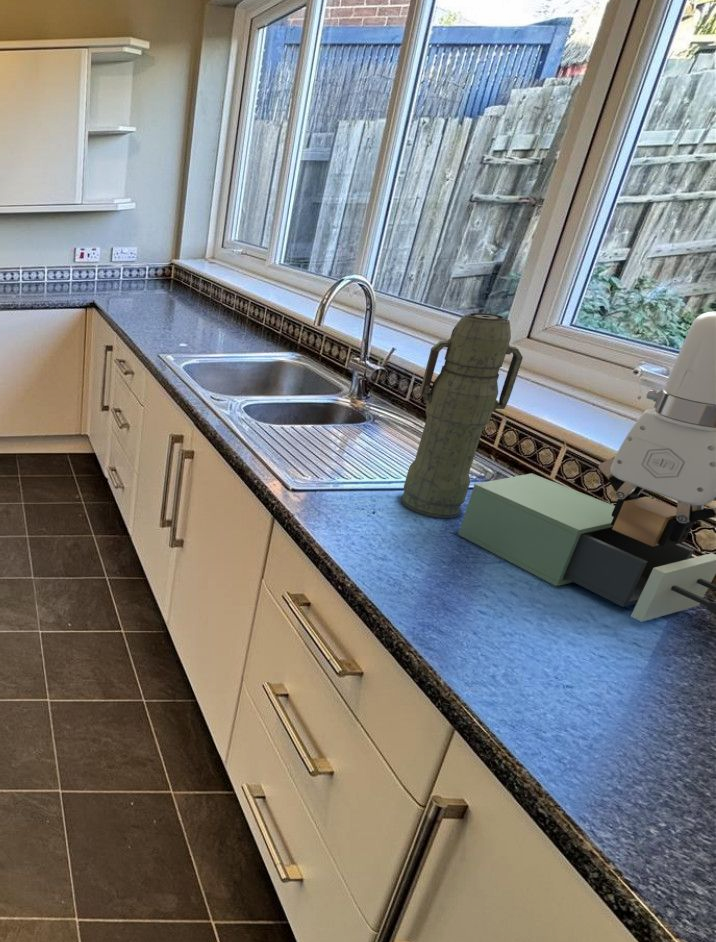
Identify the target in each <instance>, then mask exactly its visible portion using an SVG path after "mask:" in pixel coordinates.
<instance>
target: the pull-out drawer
mask: <svg viewBox="0 0 716 942" xmlns="http://www.w3.org/2000/svg"><path fill="white" fill-rule="evenodd" d="M612 528H613V527H610V528H606V529H601V530H597V531H592V532H588V533H583V534H581V535H580V538H579V540H578V542H577V545H576V547H575V550H574V552H573V555H572V557H571V560H570V562H569V564H568V567H567V569H566V572H565V574H564V577H565V578H567V579H569V580H571V581H573V582H572V583H575V584H577V585H578V586H580V587H582V588H584V589H586V590H588V591H590V592H592V593H594V594H596V595H598V596H600V597H602V598H604V599H606V600H608V601H610V602H612V603H614V604H616V605H618V606H620V607H622V608H624V607H625V608H626V607H628V606H633V605H635V606H634V608H633V610H632V613H631V614H630V617H631V618H633V619H635V620H637V621H639V622H640V623H642V622H646V621H650V620H653V619H658V618H660V617H663V616H668V615H671V614H674V613H678V612H682V611H685V610H689V609H693V608H696V607H699V606H700V605H703V606H705V607H706V610H707V611H708V612H710V613H711V614H714V615H716V600H714V601H711V600H709V599H706V598H704V597H705V595H706V594H707V592H708V590H712V591H714V592H716V584H715V583H712V581H713V580H714V578H715V576H716V554H715V553H713V552H710V553H707V554H703V555H698V556H695V557H692V556H693V553H694V552H695V549H694V548H691V547H689V546H686V545H684V544H682V543H679V544H675V545H671V546H667V547H663V546H660V545H657V546H650V545H648V544H645V543H643V542H641V541H638V540H636V539H634V538H631V537H629V536H627V535H624V534H622V533H620V532H617V531H615V530H612Z"/></svg>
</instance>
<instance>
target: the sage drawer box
mask: <svg viewBox="0 0 716 942" xmlns="http://www.w3.org/2000/svg"><path fill="white" fill-rule="evenodd" d="M614 507H615V505H614V504H611V503H608V502H605V501H603V500H601V499H598V498H595V497H594V496H591V495H588V494H586V493H583V492H580V491H578V490H576V489H572V488H570V487H568V486H565V485H562V484H560V483H557V482H555V481H552V480H549V479H547V478H545V477H543V476H539V475H537V474H535V473H532V472H531V473H526V474H521V475H515V476H510V477H504V478H500V479H494V480H487V481H483V482H477V483H474V485H473V488H472V491H471V494H470V497H469V500H468V504H467V506H466V510H465V513H464V516H463V519H462V522H461V525H460V528H459V531H458V534H457V535H458V536H460V537H462V538H464V539H466V540H467V541H469V542H471V543H473V544H475V545H477V546H478V547H480V548H482V549H485V550H486V551H488V552H490V553H492V554H494V555H496V556H498V557H500V558H501V559H504V560H505V561H508V562H509V563H511V564H513V565H515V566H517V567H519V568H521V569H522V570H524V571H526V572H528V573H530V574H532V575H534V576H536V577H537V578H539V579H542V580H543V581H545V582H547V583H548V584H551V585H553V586H554V587H560V586H563V585H567V584H572V583H574V582H573V581H571V580H569V579H567V578H565V577H564V574H565V572H566V569H567V567H568V564H569V562H570V560H571V557H572V555H573V552H574V550H575V547H576V545H577V542H578V540H579V538H580V535H581V534H583V533H588V532H592V531H597V530H601V529H606V528H610V527H613V525H611V522H612V520H613V518H614V517H612V512H613V510H614Z"/></svg>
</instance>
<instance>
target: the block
mask: <svg viewBox="0 0 716 942" xmlns="http://www.w3.org/2000/svg"><path fill="white" fill-rule="evenodd" d="M676 512H677V506H673V505H670V504H668V503H664V502H662V501H660V500H657V499H655V498H652V497H648V496H643V497H638V499H633V500H628V501H624V503H623V505H622V508H621V510H620V512H619V515H618V517H617V519H616V521H615V524H614V526H613V528H612V530H615V531H617V532H620V533H622V534H624V535H627V536H629V537H631V538H634V539H636V540H638V541H641V542H643V543H645V544H648V545H650V546H657V545H659V544H658V542H659V540H660V538H661V535H662V533H663V531H664V529H665V527H666V525H667V523H668V521H669V520H670V519H674V518H675V516H676Z"/></svg>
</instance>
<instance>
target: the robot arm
mask: <svg viewBox="0 0 716 942" xmlns="http://www.w3.org/2000/svg"><path fill="white" fill-rule="evenodd" d="M676 357H677V358H676V360H675V362H674V364H673V366H672V368H671V371H670V373H669V376H668V378H667V380H666V383H665V385H664V388H661V389H659V390H657V389H650V390H649V391H648V392H647V394H646V399H648V400H651V401H653V402H655V403H654V405H653V408H652V409H651V408H650V409H645V410H644V411H643V413H642V414H641V415H640V416H639V418H638V419H637V420H636V421H635V423H634V424H633V426H632V427H631V429H630V430H629V431H628V434H627V435H626V436H625V438H624V440H623V441H622V444H620V447H619V449H618V451H617V453H616V454H615V456H613V457H611V458H608V459H607V460H605V461H603V462H600V463H599V464H598V469H599V470H600V471H601V473H602V474H603V475H604V476H605V477H606V478H607V479H608V482H609V484H610V485H611V487H612V489H613V490H614V492H615V493H614V497H615V498H616V499H617V500H616V502H615V504H614V506H615V507H614V510H613V512H612V517H614V518H613V520H612V522H611V525H613V526H614V524H615V521H616V519H617V517H618V515H619V512H620V510H621V508H622V505H623V503H624V501H628V500H633V499H638V498H640V496H639V495H641V494H642V492H643V491H644V490H645V491H649V492H652V493H655V494H658V495H659V496H660V495H661V496H663V497H666V498H668V499H670V500H674V501H677V502H676V503H677V504H676V508H677V512H676V516H675V518H674V519H670V520H669V521H668V523H667V525H666V527H665V529H664V531H663V533H662V535H661V538H660V540H659V542H658V544H659V545H660V546H663V547H667V546H671V545H675V544H683V543H684V542H685V541H686V540H687V538H688V535H689V534H690V532H691V530H692V527H693V525H694V524H695V522H697V521H698V522H699V521H702V520H707V519H714V518H715V519H716V506H710V507H707V508H705V505H708V504H711V503H712V502H716V310H713V311H707V312H703V313H701V314H700V315H698V316H697V317H696V318H695V319H694V320H693V321H692V323H691V325H690V327H689V329H688V331H687V334H686V336H685V337H684V341H683V343H682V346H681V347H680V350H679V352H678V355H677V356H676Z"/></svg>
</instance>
